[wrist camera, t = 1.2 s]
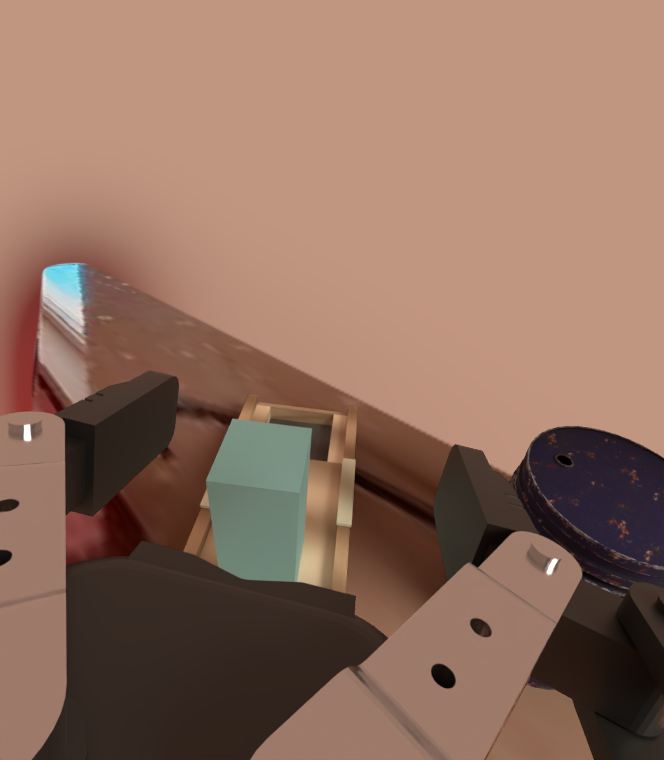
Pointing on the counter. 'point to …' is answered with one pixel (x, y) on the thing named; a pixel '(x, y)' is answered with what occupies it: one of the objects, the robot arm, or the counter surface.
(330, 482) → the box
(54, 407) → the counter surface
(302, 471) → the teal block
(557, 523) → the navy cylinder
